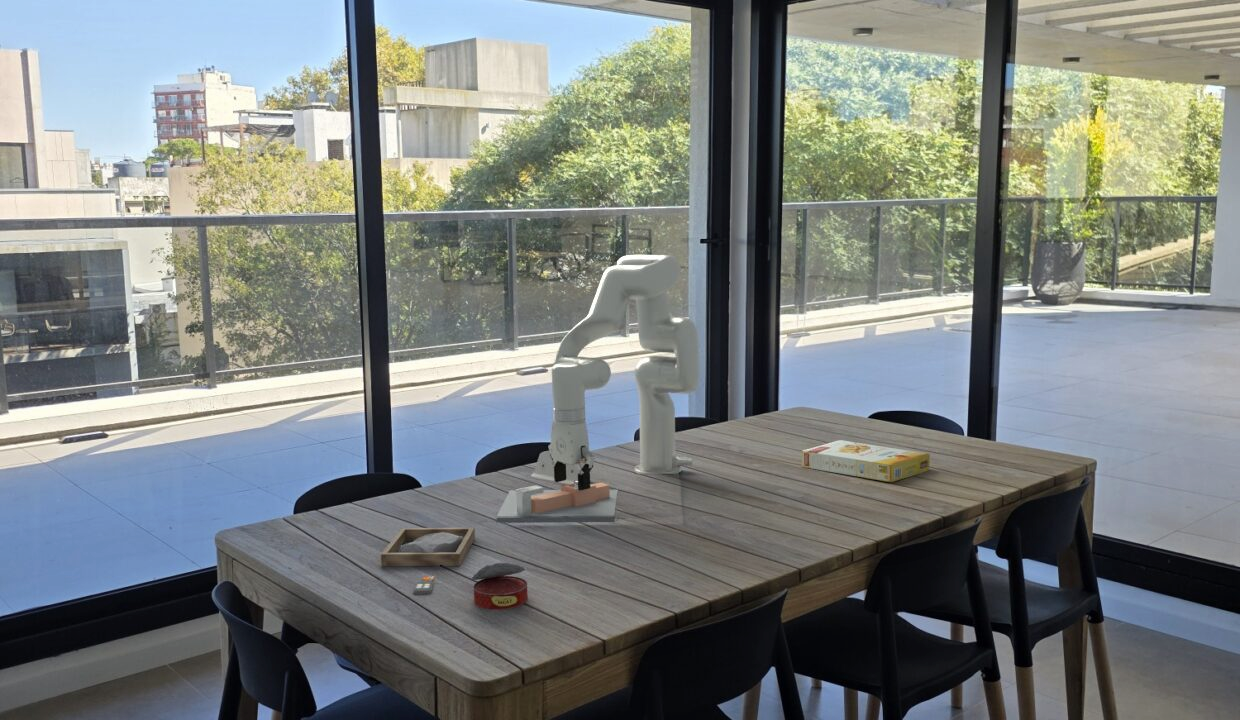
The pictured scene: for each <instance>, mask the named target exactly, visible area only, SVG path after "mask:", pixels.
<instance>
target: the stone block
mask: <svg viewBox="0 0 1240 720" xmlns="http://www.w3.org/2000/svg"><path fill="white" fill-rule="evenodd" d="M462 541H463V537H462V536H457V535H453V534H451V533H444V532H441V533H434V534H428V535H425V536H423V537H420V538H418V539H416V540H414V541H412V542H411V541H410V542H409V543H405V544H403V545H402V546H400V549H399V553H436V552H456V551H457V549H458V547H459V546H460V544H461V542H462Z"/></svg>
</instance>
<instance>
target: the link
mask: <svg viewBox="0 0 1240 720" xmlns="http://www.w3.org/2000/svg"><path fill="white" fill-rule="evenodd" d="M560 490H561V491H558V492H553V493H548V494H543V495H539V496H534V497H531V512H533V513H541V512H545V511H550V510H554V509H559V508H563V507H568V506H572V505H573V506H580V505H585V504H589V503H593V502H596V500H599V499H603V498H608V497H610V490H611V489H610V484H608V483H604V482H596V483H590V488H589V489H585V490H581V491H580V490H578V488H574V482H573V483H569V484H561V485H560Z"/></svg>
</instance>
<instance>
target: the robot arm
mask: <svg viewBox="0 0 1240 720" xmlns="http://www.w3.org/2000/svg"><path fill="white" fill-rule="evenodd" d="M681 270H682V269H681V264H680V262H679V261H678V259H677V258H676V257H675V256H672V255H669V254H627V255H623V256H621V257H620V258H619V259H617V261H616V265H615V264H614V265H612V266H609V267H607V268H606V269H605V270H604V272H603V273H602V276H601V278H600V281H599V285H598V287H597V290H596V292H595V295H594V298H593V301H592V303H591V306H590V308H589V312H588V313H587V316H586V317H584V318H583V319H582V320H580V322H578V323H577V324H576V325H575V326H574V327H573V328H572V329H570V331H568V333H567V334H566V335H565V336H564V337H563V339H562V340H561V342H560V343H559V347H558V350H557V352H556V355H555V357H554V360H553V364H552V368H551V385H552V406H553V407H552V408H553V409H552V411H553V412H552V413H553V419H552V421H551V429H550V431H551V432H550V444H548V451H550V453H551V454H550V456H551V458H552V460H553V461H552V464H553V465H554V481H555V482H554V483H558V482H560V481H564V480H566V464H568V465H576V467H577V469H578V471H579V474H578V490H580V491H581V490H585V489H589V488H590V484H591V473H592V469H593V468H594V463H595V459H596V458H595V456H594V455H593V454H592V453H591V452H590V443H589V433H588V428H587V426H588V425H587V422H586V400H585V399H586V397H585V396H586V395H585V391H592V390H600V389H601V388H604V387H605V386H606V385H608V383H609V381H610V379H611V376H612V373H611V372H612V370H611V367H610V365H609V364H608V362H607V361H605V360H604V359H601V358H597V357H586V356H579V354H580V353H581V351H583V350H584V348H586V347H587V346H588V345H590V344H591V343H593V342H595V341H598V340H600V339H602V338H604V337H607V336H609V335H611V334H614V333H616V332H618V331H619V330H620V328H621V326H622V323H623V320H624V318H625V314H626V312H627V308H628V306H629V303H630V301H631V300H635V302H636V311H637V312H636V313H637V314H636V315H637V329H638V330H637V331H638V339H639V344H640V346H641V348H642V349H643V350H645V351H647V352H655V353H665V354H666V353H667V354H674V355H675V357H674V356H665V355H664V356H663V355H650V356H644V357H642V358H640V359H639V361H638V362H637V363H636V366H635V369H634V375H635V376H634V377H635V383H636V388H637V393H638V394H637V395H638V401H639V403H638V407H639V462H640V463H639V464H637V465H635V467H634V472H635V473H636V474H637V475H643V474H644V475H652V474H653V475H658V474H659V475H660V474H663V475H664V474H665V475H666V474H670V475H671V474H677V473H678V474H679V472H680V473H681V472H682V466H686V467H687V466H689V467H690V466H693V458H688V457H679V456H677V452H676V416H675V415H676V414H675V413H676V411H675V409H676V408H675V405H674V401H673V399H672V397H671V395H670V394H680V395H688V394H692V393H694V392H695V391H696V390H697V389H698V386H699V382H700V349H699V335H698V330H697V327H696V325H695V323H694V321H692V320H691V319H689V317H688V318H687V317H684V316H683V317H681V316H671V312H670V306H669V305H670V304H669V296H668V294H667V291H669V290H671V289H672V288H674V287H675V286H676V285H677V284H678V282H679V281H680V277H681V273H682V271H681ZM669 393H670V394H669ZM563 463H565V464H563ZM581 464H584V466H583V468H582V466H581Z"/></svg>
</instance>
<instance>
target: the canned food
mask: <svg viewBox="0 0 1240 720" xmlns="http://www.w3.org/2000/svg"><path fill="white" fill-rule="evenodd" d="M525 570H526V569H525V567H524V566H521V565H518V564H513V563H508V562H498V563H494V564H492V565H489V564H488V565H485V566H484V567H481V568H480V569H479V570H478V571H477V572H476V573H475V574H474V575H473V576H472V577H471V578H470V579H471V580H472V581H477V580H478V581H477V582H475V583H474V584H473V586H472V587H473V601H474V602H473V603H474V604H475V605H476V606H477V607H478V608H481V609H485V610H495V611H496V610H497V611H499V610H508V609H513V608H518V607H519V606H523V605H524V604H526V603H527V602H528V582H527V581H526V579H524V578H521V577H517V576H513V575H516V574H520V573H523V572H524V571H525ZM511 575H512V576H511Z"/></svg>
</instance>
